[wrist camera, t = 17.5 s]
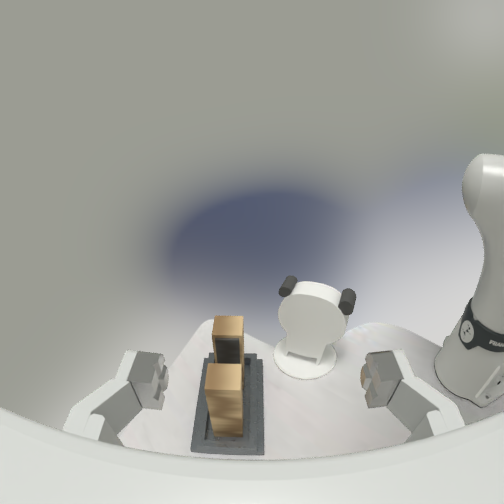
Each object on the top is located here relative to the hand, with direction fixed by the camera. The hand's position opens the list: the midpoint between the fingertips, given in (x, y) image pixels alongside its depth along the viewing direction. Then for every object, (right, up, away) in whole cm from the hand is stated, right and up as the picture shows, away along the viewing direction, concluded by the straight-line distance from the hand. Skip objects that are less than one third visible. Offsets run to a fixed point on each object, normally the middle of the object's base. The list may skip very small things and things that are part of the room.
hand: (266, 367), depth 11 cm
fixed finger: (-4, -16, +36) cm, 39 cm away
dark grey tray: (-4, -19, +32) cm, 37 cm away
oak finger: (-4, -20, +28) cm, 34 cm away
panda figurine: (+9, -14, +41) cm, 45 cm away
